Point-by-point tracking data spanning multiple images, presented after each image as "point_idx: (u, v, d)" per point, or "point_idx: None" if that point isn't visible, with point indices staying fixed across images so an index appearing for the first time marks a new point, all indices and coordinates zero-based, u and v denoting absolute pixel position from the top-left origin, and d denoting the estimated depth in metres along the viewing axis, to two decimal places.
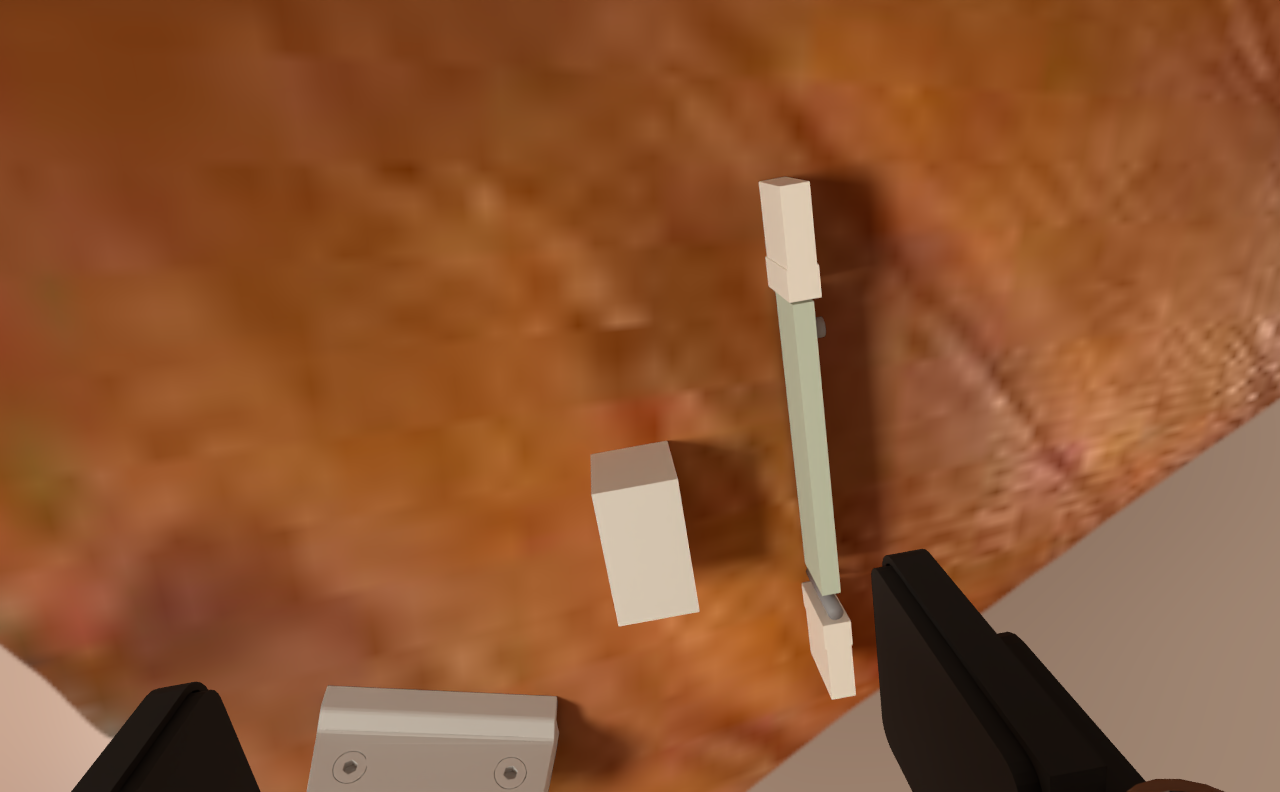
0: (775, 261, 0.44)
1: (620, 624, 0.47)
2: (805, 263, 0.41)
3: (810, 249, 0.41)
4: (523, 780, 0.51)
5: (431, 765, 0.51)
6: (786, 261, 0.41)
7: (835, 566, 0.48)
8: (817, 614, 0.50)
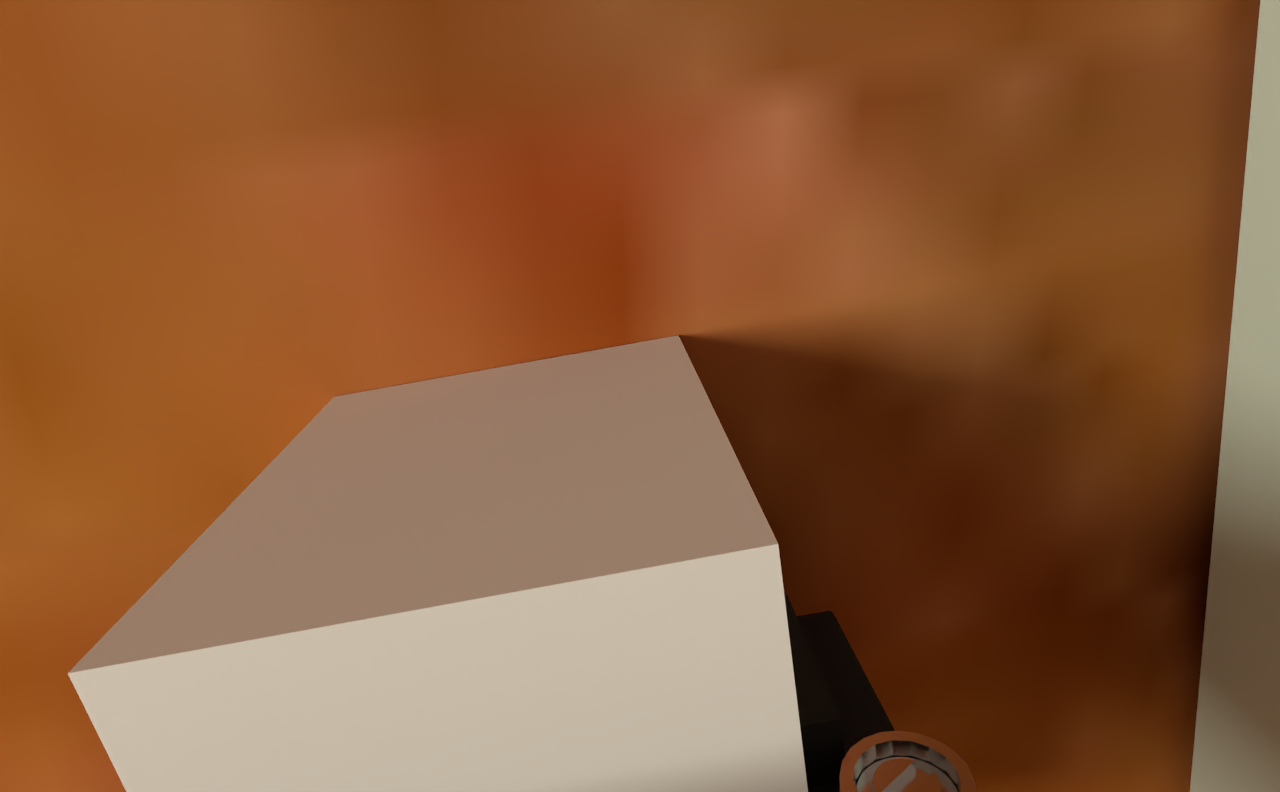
0: None
1: None
2: None
3: None
4: None
5: None
6: None
7: None
8: None
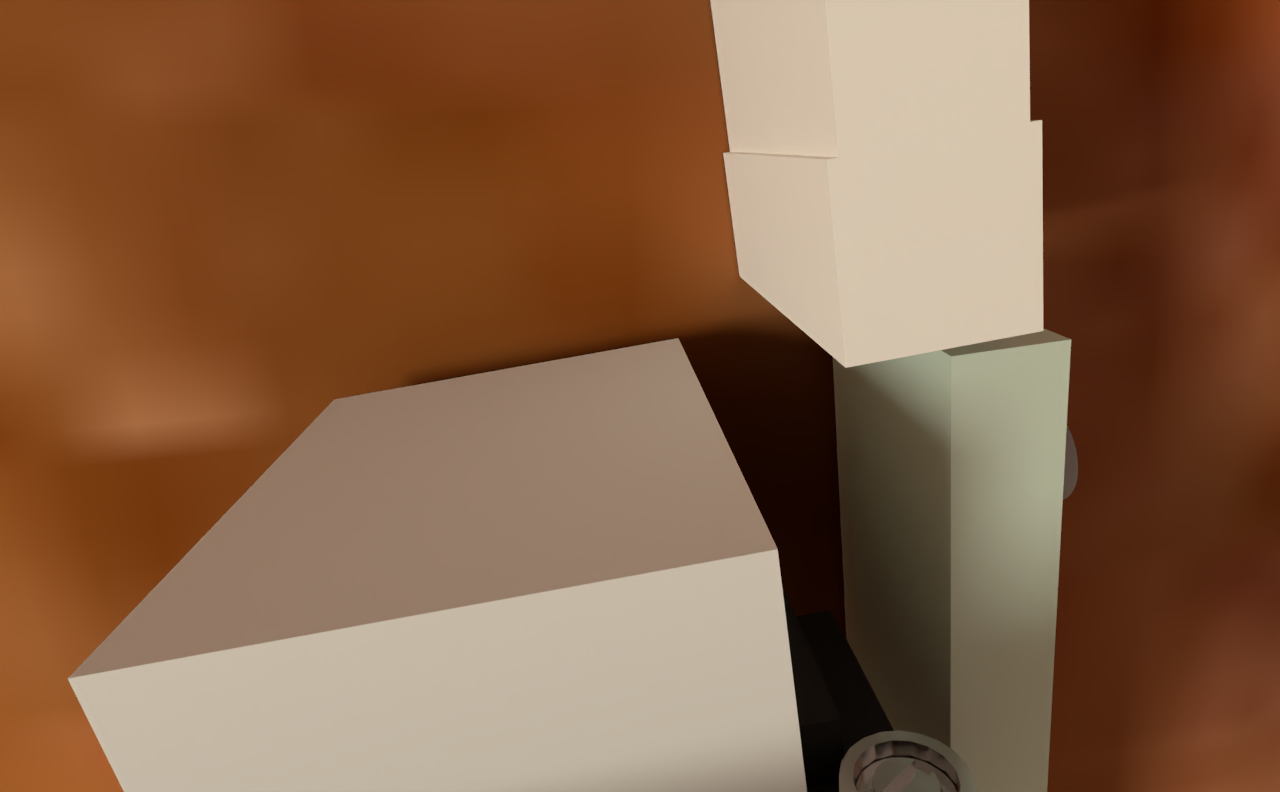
0: (762, 149, 0.09)
1: None
2: (954, 112, 0.06)
3: (993, 10, 0.06)
4: None
5: None
6: (828, 101, 0.06)
7: None
8: None
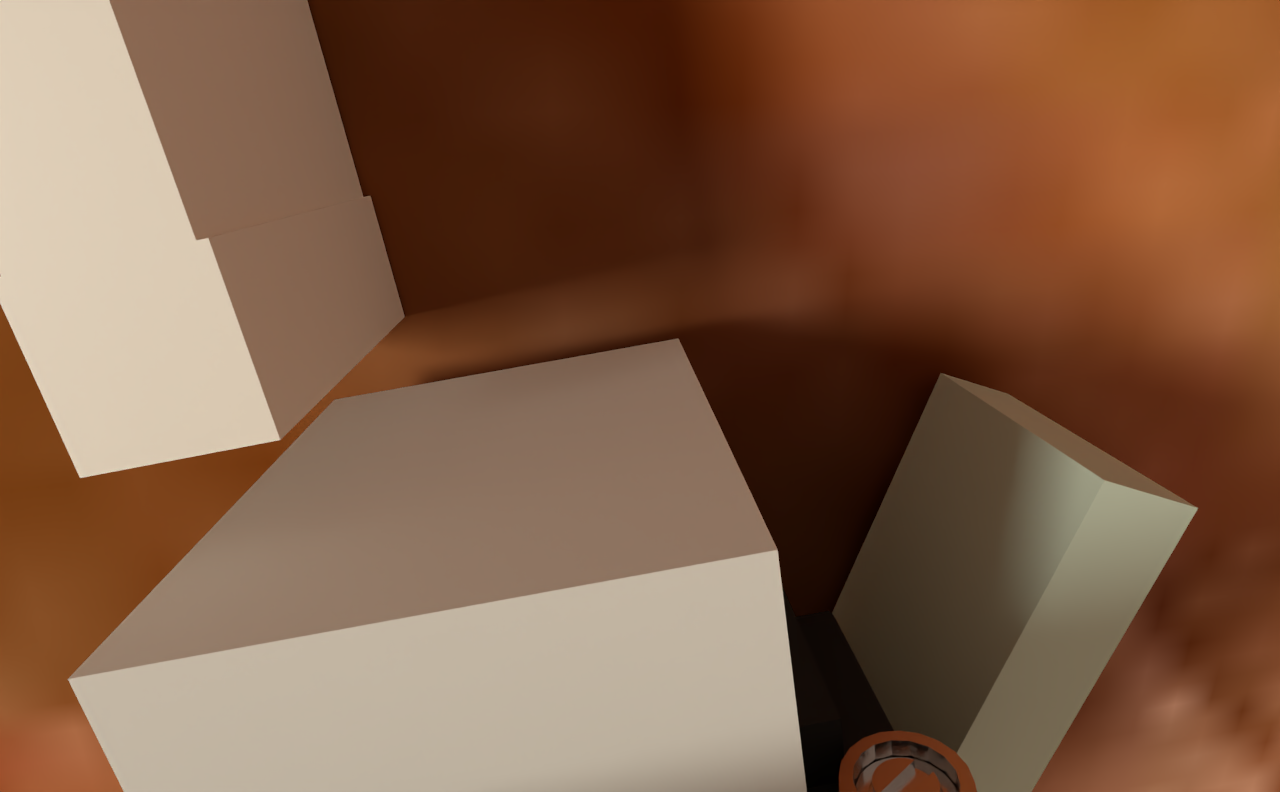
0: None
1: None
2: (111, 231, 0.06)
3: (117, 133, 0.06)
4: None
5: None
6: None
7: None
8: None
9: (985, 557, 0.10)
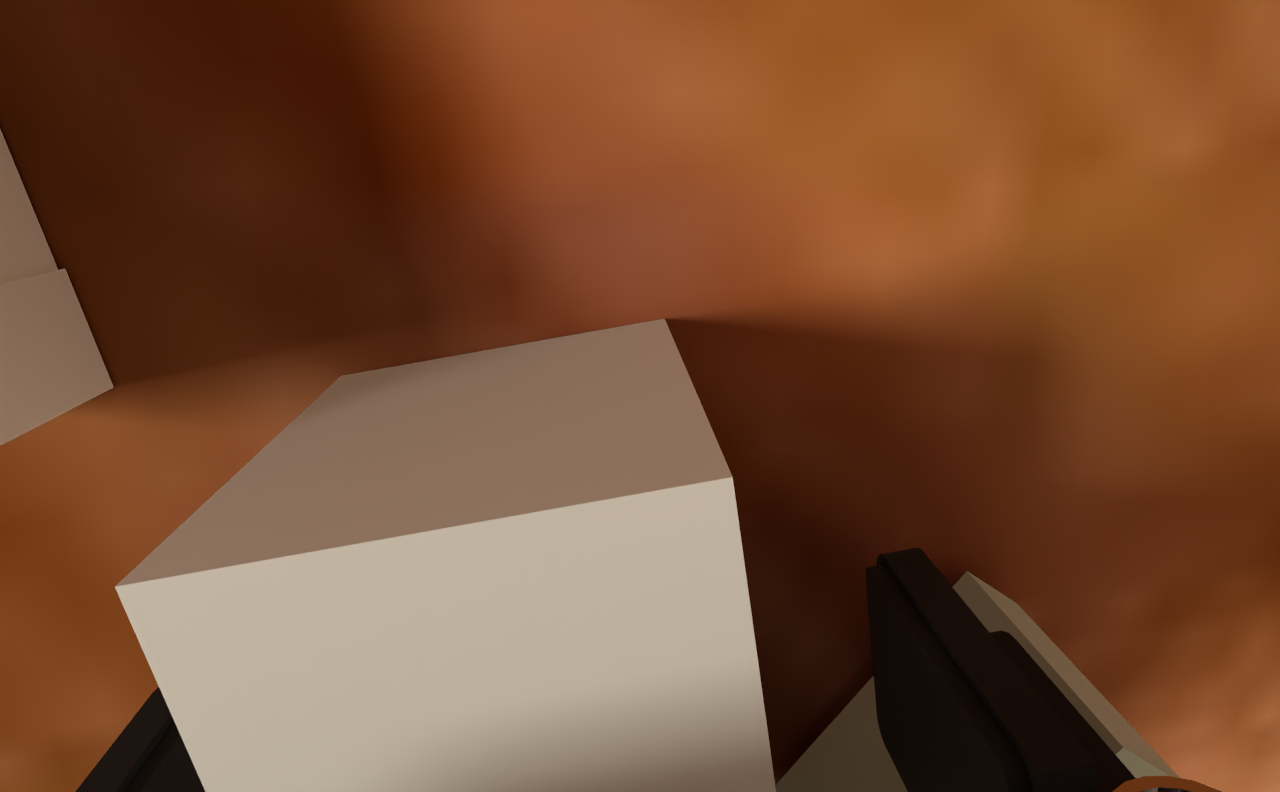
0: None
1: None
2: None
3: None
4: None
5: None
6: None
7: None
8: None
9: None
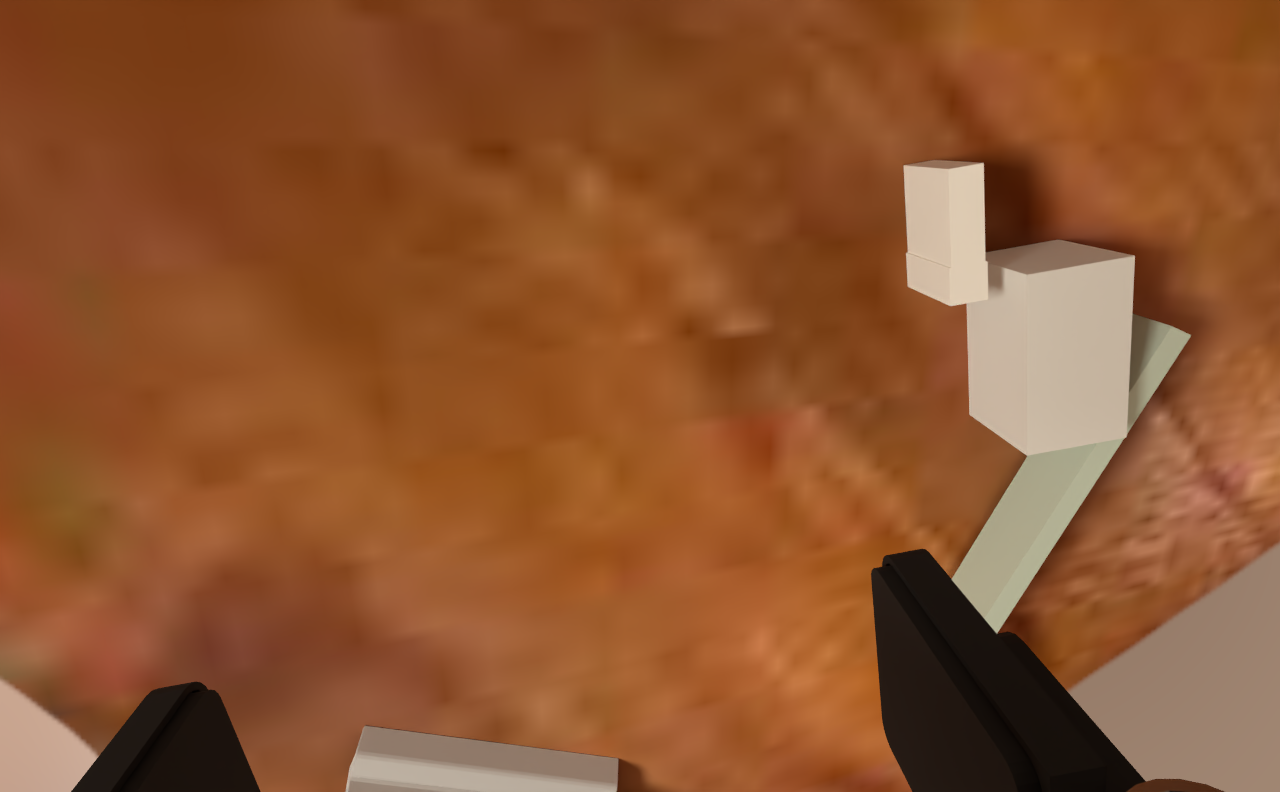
0: (925, 257, 0.38)
1: (1029, 453, 0.38)
2: (972, 260, 0.35)
3: (979, 243, 0.35)
4: None
5: None
6: (949, 257, 0.35)
7: (1007, 612, 0.42)
8: None
9: (1137, 350, 0.39)
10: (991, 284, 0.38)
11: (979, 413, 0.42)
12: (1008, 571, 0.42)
